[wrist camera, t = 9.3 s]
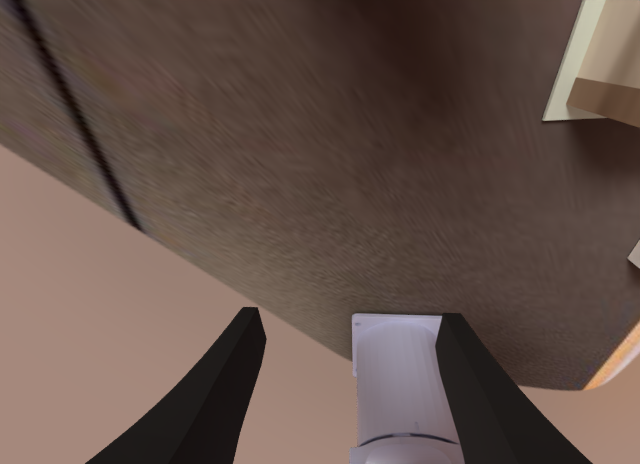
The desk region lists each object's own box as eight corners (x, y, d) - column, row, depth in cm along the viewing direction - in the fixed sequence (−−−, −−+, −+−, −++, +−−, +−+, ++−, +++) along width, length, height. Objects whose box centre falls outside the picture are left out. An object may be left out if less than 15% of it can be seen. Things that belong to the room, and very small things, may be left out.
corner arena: (647, 258, 19) (683, 285, 17) (442, 257, 21) (451, 281, 19) (1055, -307, 8) (1299, -427, 6) (540, -214, 10) (591, -283, 7)
